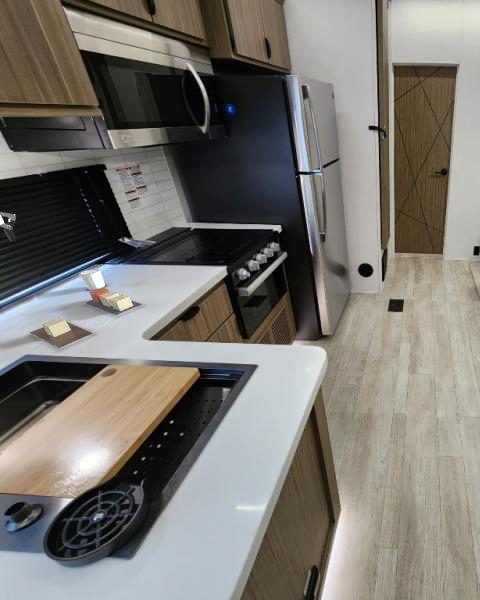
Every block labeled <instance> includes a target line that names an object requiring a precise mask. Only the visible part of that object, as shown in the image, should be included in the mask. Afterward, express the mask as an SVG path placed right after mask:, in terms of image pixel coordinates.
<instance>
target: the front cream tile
mask: <svg viewBox="0 0 480 600" xmlns="http://www.w3.org/2000/svg"><path fill="white" fill-rule="evenodd" d="M67 322H68V321H66V319H63V318H61V317H56V318H54V319H50V320H47V321H45V322H43V323H41V326H42V328H43V327H44V329H45V331H46V332H47V334H49V335H51V336H53V337H56V336H58V335H61V334H63V333H66V332H68V331H71V329H70V328H69V326H68V324H67Z"/></svg>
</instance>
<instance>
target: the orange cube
mask: <svg viewBox="0 0 480 600" xmlns="http://www.w3.org/2000/svg"><path fill="white" fill-rule="evenodd" d="M108 292H111V291H110V289H108V288H105V287H102V288H99V289H94V290H90V291H89V292H88V293H89V295H90V297H91V300H93V301H95V302H97V303H102V301H101V299H100V297H99V296H100V295H102V294H105V293H108Z"/></svg>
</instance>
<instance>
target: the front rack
mask: <svg viewBox="0 0 480 600" xmlns="http://www.w3.org/2000/svg"><path fill="white" fill-rule="evenodd" d="M66 322H67V324H68V326H69V328H70V329H71V331H68V332H66V333H63V334H61V335H58V336H56V337H53V336H51V335H49V334H47V332H46V331H45V329H44V327H43V326H42V327H40V328H37V329H34V330H33V331H30V332H29V334H31V335H33V336H34V337H36V338H39V339H40V340H42V341H45V342H47V343H48V344H50V345H52V346H55V347H56V348H58V349H60V348H63V347H65V346H68V345H69V344H72V343H74V342H76V341H78V340H81V339H83V338H85V337H88V336H90V335H92V334H93V333H94V332H92V331H89V330H87V329H84V328H82V327H80V326H77V325H75V324H73V323H71V322H69V321H66Z"/></svg>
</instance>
